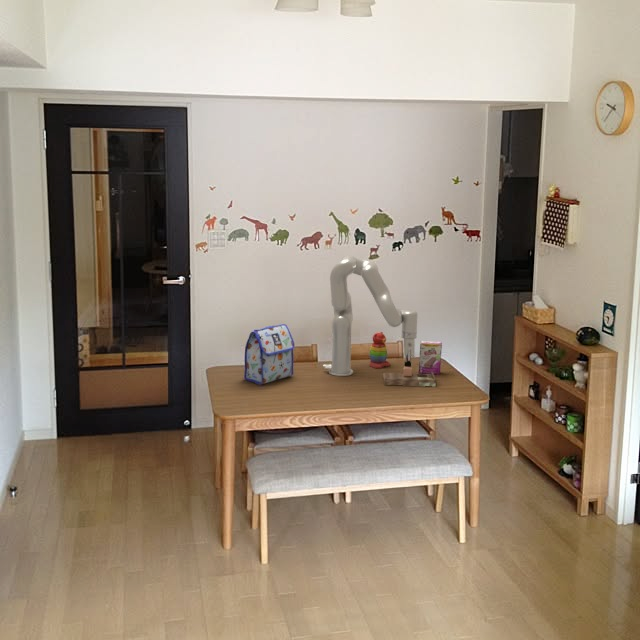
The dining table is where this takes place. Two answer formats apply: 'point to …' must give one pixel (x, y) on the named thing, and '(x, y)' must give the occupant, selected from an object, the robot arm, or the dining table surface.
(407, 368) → the block
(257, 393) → the dining table surface
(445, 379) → the dining table surface
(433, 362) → the candy bar box
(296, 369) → the dining table surface
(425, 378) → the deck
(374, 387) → the dining table surface
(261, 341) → the lunch bag
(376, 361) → the stacking bear
